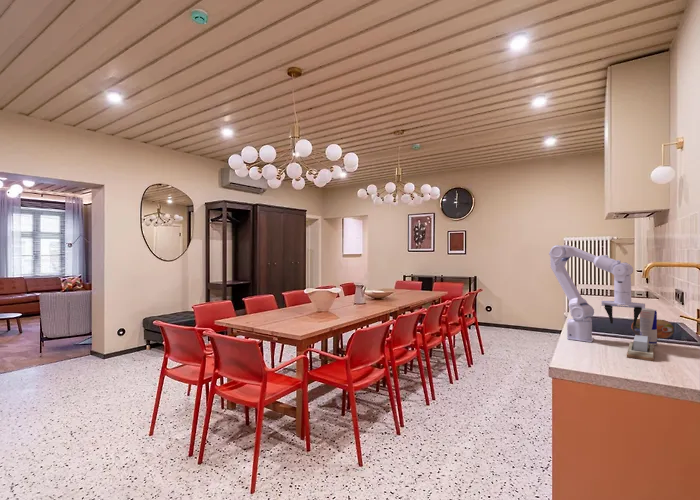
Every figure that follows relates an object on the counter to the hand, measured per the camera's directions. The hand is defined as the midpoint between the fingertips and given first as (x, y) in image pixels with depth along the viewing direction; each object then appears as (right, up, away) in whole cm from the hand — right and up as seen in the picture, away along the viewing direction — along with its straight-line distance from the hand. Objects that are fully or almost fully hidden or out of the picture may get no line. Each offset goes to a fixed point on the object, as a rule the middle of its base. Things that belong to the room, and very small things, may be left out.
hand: (623, 324), depth 152 cm
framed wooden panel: (0, -10, -10) cm, 14 cm away
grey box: (-1, -9, -10) cm, 13 cm away
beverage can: (+14, -9, +4) cm, 17 cm away
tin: (+25, -9, +16) cm, 31 cm away
